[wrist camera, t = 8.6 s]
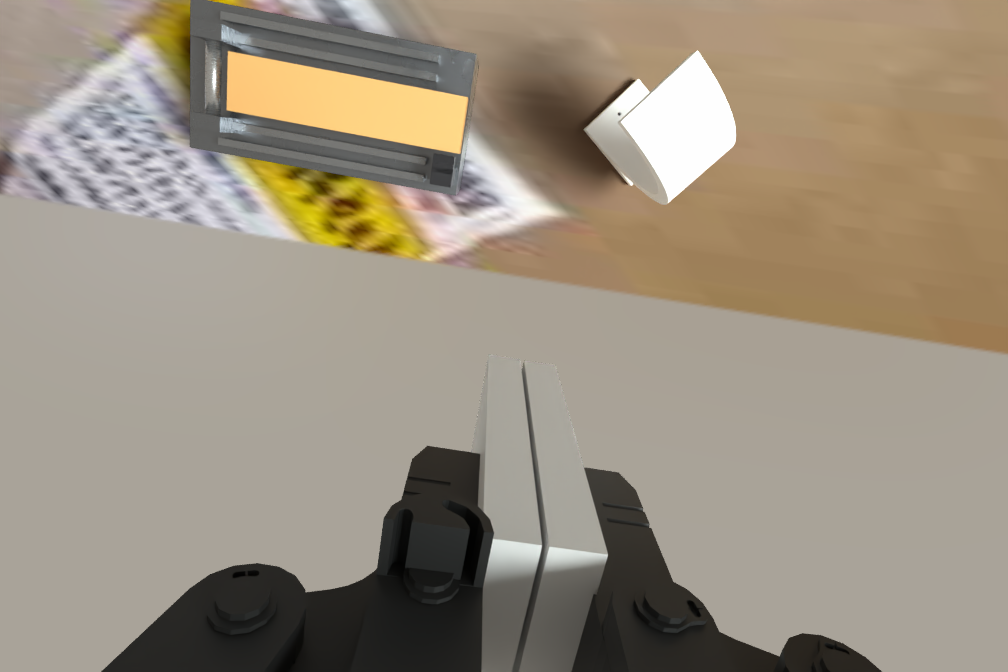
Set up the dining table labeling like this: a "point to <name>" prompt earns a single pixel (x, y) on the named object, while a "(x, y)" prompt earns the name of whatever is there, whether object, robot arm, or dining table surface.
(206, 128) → the block
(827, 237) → the dining table surface
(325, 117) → the tan flat bar
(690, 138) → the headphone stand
